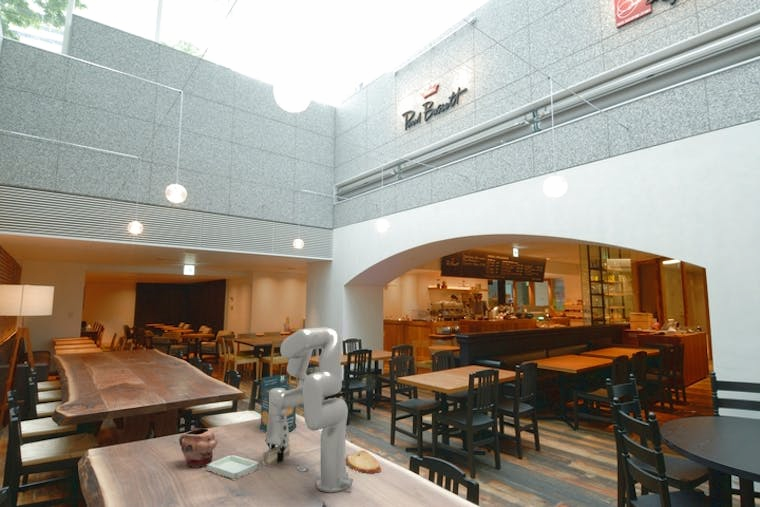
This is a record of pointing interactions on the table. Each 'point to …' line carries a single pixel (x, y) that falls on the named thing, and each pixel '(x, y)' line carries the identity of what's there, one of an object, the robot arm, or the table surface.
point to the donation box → (266, 386)
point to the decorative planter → (198, 447)
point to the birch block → (274, 455)
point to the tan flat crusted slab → (363, 463)
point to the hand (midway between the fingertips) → (276, 459)
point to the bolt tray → (233, 466)
